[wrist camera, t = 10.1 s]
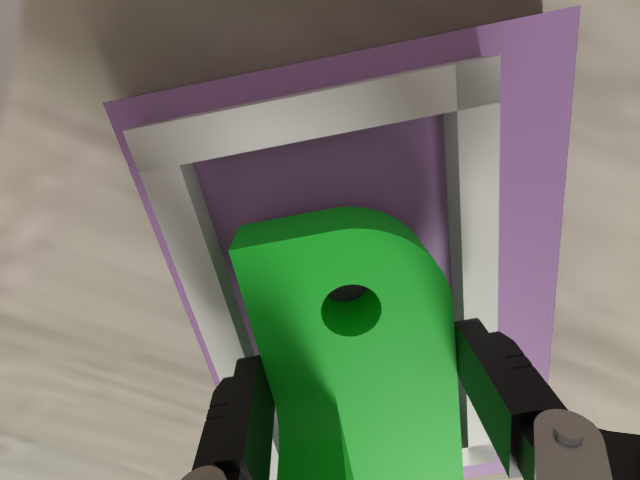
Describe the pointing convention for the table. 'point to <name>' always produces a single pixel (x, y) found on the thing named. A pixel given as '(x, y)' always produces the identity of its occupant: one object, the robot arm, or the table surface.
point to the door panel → (374, 175)
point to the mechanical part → (353, 346)
